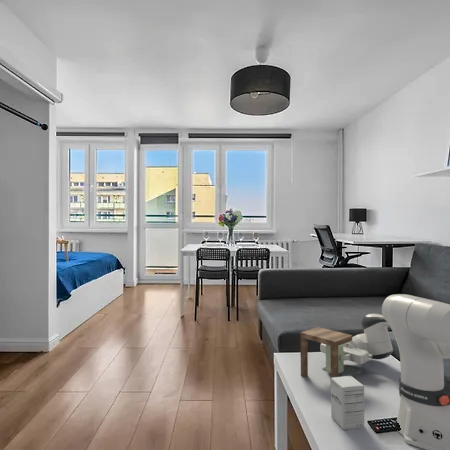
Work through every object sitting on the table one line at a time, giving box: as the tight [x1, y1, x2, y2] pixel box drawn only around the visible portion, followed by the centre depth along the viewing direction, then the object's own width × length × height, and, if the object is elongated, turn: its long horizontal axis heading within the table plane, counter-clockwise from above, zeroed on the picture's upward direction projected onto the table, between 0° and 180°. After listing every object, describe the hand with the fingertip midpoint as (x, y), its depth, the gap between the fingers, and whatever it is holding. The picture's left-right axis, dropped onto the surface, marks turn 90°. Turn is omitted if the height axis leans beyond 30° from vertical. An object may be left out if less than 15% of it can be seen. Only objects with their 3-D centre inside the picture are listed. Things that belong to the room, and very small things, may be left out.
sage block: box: [325, 344, 345, 374], centre depth 145 cm, size 5×5×11 cm
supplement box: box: [330, 376, 365, 430], centre depth 109 cm, size 7×7×13 cm
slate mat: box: [321, 365, 362, 377], centre depth 148 cm, size 12×10×1 cm
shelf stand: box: [299, 326, 353, 379], centre depth 141 cm, size 16×12×18 cm
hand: (333, 356), depth 145 cm, fingers closed on sage block, 5 cm apart
